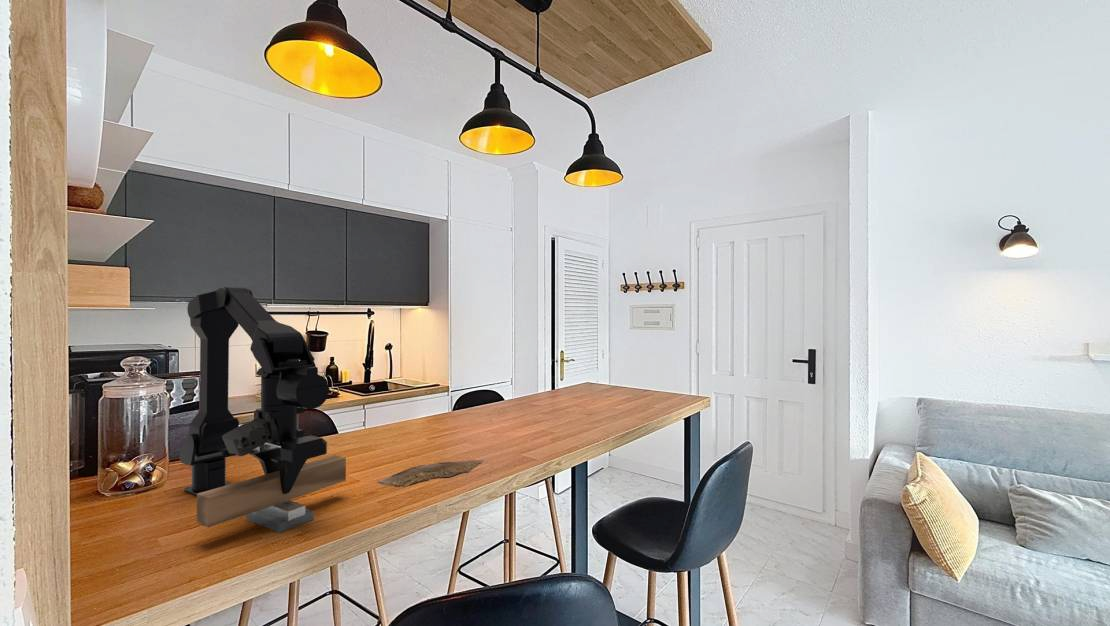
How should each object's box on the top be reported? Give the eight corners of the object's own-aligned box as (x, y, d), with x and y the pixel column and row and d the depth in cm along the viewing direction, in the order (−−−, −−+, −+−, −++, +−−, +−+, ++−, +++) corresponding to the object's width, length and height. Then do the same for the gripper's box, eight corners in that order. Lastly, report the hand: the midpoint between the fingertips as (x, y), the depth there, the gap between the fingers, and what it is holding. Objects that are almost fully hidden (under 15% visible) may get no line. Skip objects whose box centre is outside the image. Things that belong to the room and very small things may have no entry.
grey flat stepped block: (246, 519, 86) (246, 502, 86) (280, 507, 91) (280, 491, 91) (279, 532, 81) (279, 514, 81) (313, 519, 86) (313, 502, 86)
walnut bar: (196, 522, 76) (196, 493, 76) (334, 477, 97) (334, 454, 97) (208, 527, 75) (208, 498, 75) (345, 480, 95) (345, 457, 95)
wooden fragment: (385, 492, 100) (385, 487, 100) (370, 477, 109) (370, 473, 109) (496, 469, 115) (496, 464, 115) (475, 457, 124) (475, 453, 124)
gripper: (201, 404, 84) (201, 495, 84) (262, 417, 74) (262, 519, 74) (267, 395, 93) (267, 476, 93) (329, 405, 84) (329, 496, 84)
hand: (279, 491), depth 86 cm, fingers closed on walnut bar, 3 cm apart
